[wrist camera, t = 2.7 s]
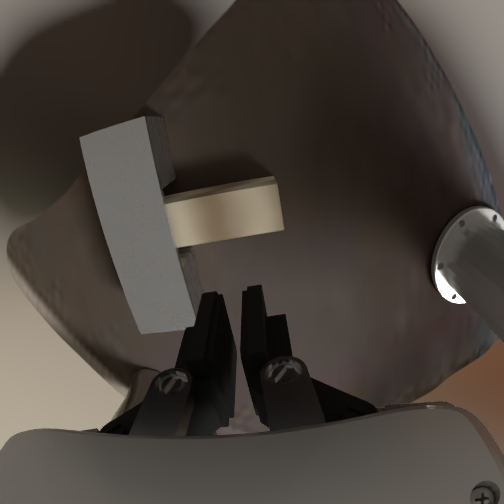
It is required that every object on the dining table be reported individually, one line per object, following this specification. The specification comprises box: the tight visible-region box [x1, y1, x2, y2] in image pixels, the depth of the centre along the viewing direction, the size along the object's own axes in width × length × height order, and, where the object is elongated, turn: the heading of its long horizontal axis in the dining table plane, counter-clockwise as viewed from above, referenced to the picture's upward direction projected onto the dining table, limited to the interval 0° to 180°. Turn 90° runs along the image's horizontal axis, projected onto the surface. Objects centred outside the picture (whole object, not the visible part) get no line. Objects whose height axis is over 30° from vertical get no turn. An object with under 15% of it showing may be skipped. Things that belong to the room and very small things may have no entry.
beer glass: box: [110, 369, 160, 422], centre depth 33 cm, size 7×7×15 cm
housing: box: [80, 116, 205, 334], centre depth 28 cm, size 6×19×6 cm, turn 10°
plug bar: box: [164, 176, 284, 248], centre depth 28 cm, size 13×4×4 cm, turn 100°
